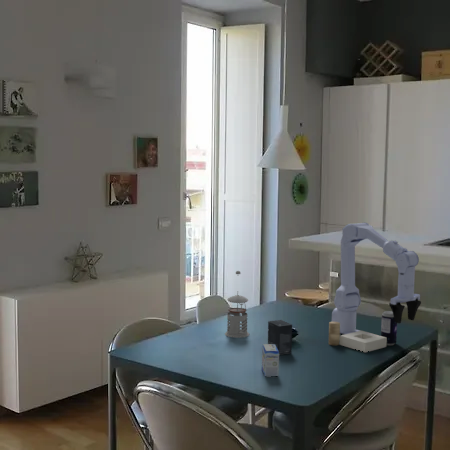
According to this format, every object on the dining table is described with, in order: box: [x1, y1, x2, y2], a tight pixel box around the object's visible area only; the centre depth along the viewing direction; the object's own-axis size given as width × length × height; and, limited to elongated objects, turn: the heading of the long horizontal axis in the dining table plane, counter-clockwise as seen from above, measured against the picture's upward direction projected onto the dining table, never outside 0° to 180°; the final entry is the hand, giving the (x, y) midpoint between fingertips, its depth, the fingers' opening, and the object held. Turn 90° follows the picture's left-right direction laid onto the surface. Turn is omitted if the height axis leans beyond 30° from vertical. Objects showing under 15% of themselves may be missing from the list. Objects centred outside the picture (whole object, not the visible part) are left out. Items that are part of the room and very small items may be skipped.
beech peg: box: [328, 321, 341, 347], centre depth 261 cm, size 4×4×8 cm
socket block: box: [339, 330, 387, 353], centre depth 259 cm, size 12×12×4 cm
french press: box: [224, 270, 250, 339], centre depth 272 cm, size 10×12×25 cm
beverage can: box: [380, 310, 398, 346], centre depth 262 cm, size 6×6×12 cm
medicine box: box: [261, 343, 280, 378], centre depth 226 cm, size 8×4×9 cm, turn 5°
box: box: [267, 319, 293, 356], centre depth 250 cm, size 8×6×11 cm
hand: (404, 321), depth 256 cm, fingers open, 7 cm apart
